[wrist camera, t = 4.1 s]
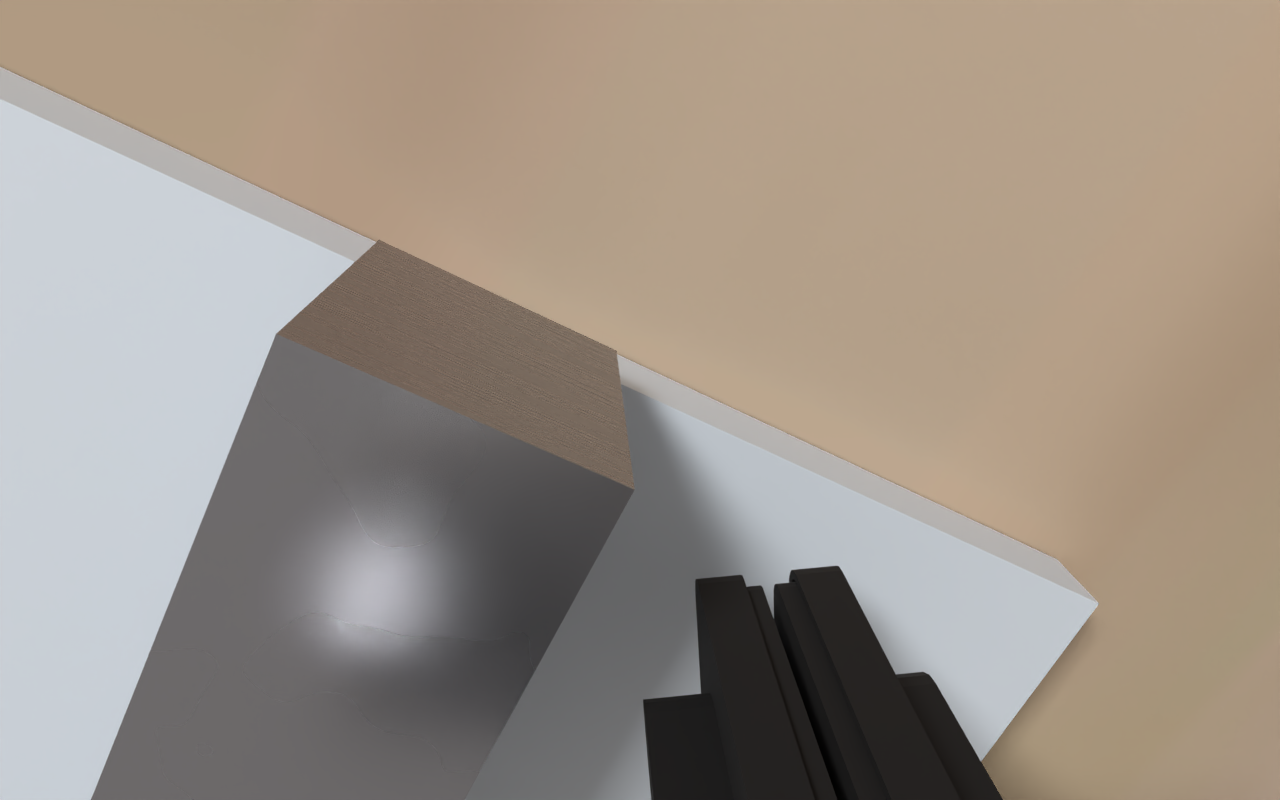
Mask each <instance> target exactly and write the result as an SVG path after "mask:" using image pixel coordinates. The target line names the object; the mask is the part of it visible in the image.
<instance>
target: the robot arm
mask: <svg viewBox="0 0 1280 800" xmlns="http://www.w3.org/2000/svg"><path fill="white" fill-rule="evenodd" d="M695 597H696V615H697V632H698V650H699V667H700V685H701V694H693V695H683V696H673V697H663V698H653V699H643V709H644V721H645V733H646V745H647V757H648V769H649V780H650V791H651V800H1003V799H1002V797H1001V796H1000V794H999V792H998V791H997V789H996V787H995V785H994V784H993V782H992V780H991V778H990V777H989V775H988V773H987V771H986V770H985V768H984V766H983V764H982V763H981V761H980V759H979V757H978V756H977V754H976V752H975V750H974V749H973V747H972V745H971V744H970V742H969V740H968V738H967V737H966V735H965V733H964V731H963V730H962V728H961V726H960V724H959V723H958V721H957V719H956V717H955V716H954V714H953V712H952V710H951V709H950V707H949V705H948V704H947V702H946V700H945V698H944V697H943V695H942V693H941V691H940V690H939V688H938V686H937V684H936V683H935V682H934V680H933V679H932V677H931V676H930V675H929V674H927V673H925V672H915V673H905V674H895V672H894V670H893V668H892V666H891V664H890V662H889V660H888V659H887V657H886V655H885V653H884V651H883V649H882V647H881V645H880V643H879V641H878V639H877V637H876V635H875V633H874V631H873V630H872V628H871V626H870V624H869V622H868V620H867V618H866V616H865V614H864V612H863V610H862V608H861V606H860V604H859V603H858V601H857V599H856V597H855V595H854V593H853V591H852V589H851V587H850V585H849V583H848V581H847V579H846V577H845V575H844V574H843V572H842V570H841V569H840V567H839V566H827V567H817V568H806V569H796V570H791V572H790V575H789V583H779V584H775V585H774V618H773V615H772V612H771V610H770V607H769V604H768V601H767V598H766V595H765V593H764V590H763V587H762V586H761V585H758V586H748V587H746V584H745V581H744V578H743V576H742V575H732V576H722V577H711V578H700V579H696V580H695Z"/></svg>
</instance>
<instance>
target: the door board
mask: <svg viewBox="0 0 1280 800" xmlns="http://www.w3.org/2000/svg"><path fill="white" fill-rule="evenodd" d="M375 243H376V242H375V241H373V240H371V239H369V238H366V237H364V236H362V235H360V234H358V233H356V232H354V231H351V230H349V229H347V228H345V227H343V226H341V225H339V224H336V223H334V222H332V221H330V220H328V219H326V218H324V217H321V216H319V215H317V214H315V213H313V212H311V211H309V210H306V209H304V208H302V207H300V206H298V205H296V204H293V203H291V202H289V201H287V200H285V199H283V198H281V197H278V196H276V195H274V194H272V193H270V192H268V191H266V190H263V189H261V188H259V187H257V186H255V185H253V184H251V183H248V182H246V181H244V180H242V179H240V178H238V177H236V176H233V175H231V174H229V173H227V172H225V171H223V170H221V169H218V168H216V167H214V166H212V165H210V164H208V163H206V162H203V161H201V160H199V159H197V158H195V157H193V156H191V155H188V154H186V153H184V152H182V151H180V150H178V149H175V148H173V147H171V146H169V145H167V144H165V143H163V142H160V141H158V140H156V139H154V138H152V137H150V136H148V135H145V134H143V133H141V132H139V131H137V130H135V129H133V128H130V127H128V126H126V125H124V124H122V123H120V122H118V121H115V120H113V119H111V118H109V117H107V116H105V115H103V114H100V113H98V112H96V111H94V110H92V109H90V108H88V107H85V106H83V105H81V104H79V103H77V102H75V101H72V100H70V99H68V98H66V97H64V96H62V95H60V94H57V93H55V92H53V91H51V90H49V89H47V88H45V87H42V86H40V85H38V84H36V83H34V82H32V81H30V80H27V79H25V78H23V77H21V76H19V75H17V74H15V73H12V72H10V71H8V70H6V69H4V68H2V67H0V800H91V798H92V796H93V793H94V791H95V788H96V786H97V783H98V781H99V778H100V776H101V773H102V771H103V768H104V766H105V763H106V761H107V758H108V756H109V753H110V751H111V748H112V745H113V743H114V740H115V738H116V735H117V733H118V730H119V728H120V725H121V723H122V720H123V718H124V715H125V713H126V710H127V708H128V705H129V703H130V700H131V698H132V695H133V693H134V690H135V688H136V685H137V683H138V680H139V678H140V675H141V672H142V670H143V667H144V665H145V662H146V660H147V657H148V655H149V652H150V650H151V647H152V645H153V642H154V640H155V637H156V635H157V632H158V630H159V627H160V625H161V622H162V620H163V617H164V615H165V612H166V610H167V607H168V605H169V602H170V599H171V597H172V594H173V592H174V589H175V587H176V584H177V582H178V579H179V577H180V574H181V572H182V569H183V567H184V564H185V562H186V559H187V557H188V554H189V552H190V549H191V547H192V544H193V542H194V539H195V537H196V534H197V532H198V529H199V526H200V524H201V521H202V519H203V516H204V514H205V511H206V509H207V506H208V504H209V501H210V499H211V496H212V494H213V491H214V489H215V486H216V484H217V481H218V479H219V476H220V474H221V471H222V469H223V466H224V464H225V461H226V459H227V456H228V453H229V451H230V448H231V446H232V443H233V441H234V438H235V436H236V433H237V431H238V428H239V426H240V423H241V421H242V418H243V416H244V413H245V411H246V408H247V406H248V403H249V401H250V398H251V396H252V393H253V391H254V388H255V386H256V383H257V380H258V378H259V375H260V373H261V370H262V368H263V365H264V363H265V360H266V358H267V355H268V353H269V350H270V348H271V345H272V343H273V340H274V338H275V335H276V333H277V332H279V331H280V330H281V329H282V328H283V327H284V326H285V325H286V324H287V323H288V322H290V321H291V320H292V319H293V318H294V317H295V316H296V315H297V314H298V313H299V312H300V311H302V310H303V309H304V308H305V307H306V306H307V305H308V304H309V303H310V302H311V301H313V300H314V299H315V298H316V297H317V296H318V295H319V294H320V293H321V292H322V291H324V290H325V289H326V288H327V287H328V286H329V285H330V284H331V283H332V282H333V281H335V280H336V279H337V278H338V277H339V276H340V275H341V274H342V273H343V272H344V271H345V270H347V269H348V268H349V267H350V266H351V265H352V264H353V263H354V262H355V261H356V260H358V259H359V258H360V257H361V256H362V255H363V254H364V253H365V252H366V251H367V250H369V249H370V248H371V247H372V246H373V245H374V244H375ZM617 359H618V366H619V374H620V382H621V389H622V397H623V404H624V412H625V420H626V427H627V435H628V443H629V450H630V458H631V466H632V473H633V481H634V488H635V490H634V492H633V494H632V495H631V497H630V499H629V501H628V503H627V505H626V506H625V508H624V510H623V512H622V514H621V515H620V517H619V519H618V521H617V523H616V525H615V526H614V528H613V530H612V532H611V534H610V535H609V537H608V539H607V541H606V543H605V545H604V546H603V548H602V550H601V552H600V554H599V556H598V557H597V559H596V561H595V563H594V565H593V566H592V568H591V570H590V572H589V574H588V576H587V577H586V579H585V581H584V583H583V585H582V586H581V588H580V590H579V592H578V594H577V596H576V597H575V599H574V601H573V603H572V605H571V607H570V608H569V610H568V612H567V614H566V616H565V617H564V619H563V621H562V623H561V625H560V627H559V628H558V630H557V632H556V634H555V636H554V638H553V639H552V641H551V643H550V645H549V647H548V648H547V650H546V652H545V654H544V656H543V658H542V659H541V661H540V663H539V665H538V667H537V668H536V670H535V672H534V674H533V676H532V678H531V679H530V681H529V683H528V685H527V687H526V689H525V690H524V692H523V694H522V696H521V698H520V699H519V701H518V703H517V705H516V707H515V709H514V710H513V712H512V714H511V716H510V718H509V719H508V721H507V723H506V725H505V727H504V729H503V730H502V732H501V734H500V736H499V738H498V740H497V741H496V743H495V745H494V747H493V749H492V750H491V752H490V754H489V756H488V758H487V760H486V761H485V763H484V765H483V767H482V769H481V770H480V772H479V774H478V776H477V778H476V780H475V781H474V783H473V785H472V787H471V789H470V791H469V792H468V794H467V796H466V798H465V800H651V791H650V780H649V769H648V757H647V745H646V733H645V721H644V709H643V699H653V698H663V697H673V696H683V695H693V694H701V685H700V667H699V650H698V632H697V615H696V597H695V580H696V579H700V578H711V577H722V576H732V575H742V576H743V578H744V581H745V584H746V587H748V586H758V585H761V586H762V587H763V590H764V593H765V595H766V598H767V601H768V604H769V607H770V610H771V612H772V615H773V618H774V585H775V584H779V583H789V575H790V572H791V570H796V569H806V568H817V567H827V566H839V567H840V569H841V570H842V572H843V574H844V575H845V577H846V579H847V581H848V583H849V585H850V587H851V589H852V591H853V593H854V595H855V597H856V599H857V601H858V603H859V604H860V606H861V608H862V610H863V612H864V614H865V616H866V618H867V620H868V622H869V624H870V626H871V628H872V630H873V631H874V633H875V635H876V637H877V639H878V641H879V643H880V645H881V647H882V649H883V651H884V653H885V655H886V657H887V659H888V660H889V662H890V664H891V666H892V668H893V670H894V672H895V674H905V673H915V672H925V673H927V674H929V675H930V676H931V677H932V679H933V680H934V682H935V683H936V684H937V686H938V688H939V690H940V691H941V693H942V695H943V697H944V698H945V700H946V702H947V704H948V705H949V707H950V709H951V710H952V712H953V714H954V716H955V717H956V719H957V721H958V723H959V724H960V726H961V728H962V730H963V731H964V733H965V735H966V737H967V738H968V740H969V742H970V744H971V745H972V747H973V749H974V750H975V752H976V754H977V756H978V757H979V759H980V761H982V760H983V758H984V757H985V756H986V754H987V753H988V752H989V750H990V749H991V748H992V746H993V745H994V744H995V742H996V741H997V740H998V738H999V737H1000V735H1001V734H1002V733H1003V731H1004V730H1005V729H1006V727H1007V726H1008V725H1009V723H1010V722H1011V721H1012V719H1013V718H1014V717H1015V715H1016V714H1017V713H1018V711H1019V710H1020V709H1021V707H1022V706H1023V705H1024V703H1025V702H1026V701H1027V699H1028V698H1029V697H1030V695H1031V694H1032V693H1033V691H1034V690H1035V689H1036V687H1037V686H1038V685H1039V683H1040V682H1041V681H1042V679H1043V678H1044V677H1045V675H1046V674H1047V673H1048V671H1049V670H1050V669H1051V667H1052V666H1053V665H1054V663H1055V662H1056V661H1057V659H1058V658H1059V657H1060V655H1061V654H1062V653H1063V651H1064V650H1065V649H1066V647H1067V646H1068V644H1069V643H1070V642H1071V640H1072V639H1073V638H1074V636H1075V635H1076V634H1077V632H1078V631H1079V630H1080V628H1081V627H1082V626H1083V624H1084V623H1085V622H1086V620H1087V619H1088V618H1089V616H1090V615H1091V614H1092V612H1093V611H1094V610H1095V608H1096V607H1097V606H1098V604H1099V603H1098V602H1097V601H1096V600H1095V599H1094V598H1093V597H1092V596H1091V594H1090V593H1089V592H1088V591H1087V590H1086V589H1085V588H1084V587H1083V586H1082V585H1081V584H1080V583H1079V582H1078V581H1077V580H1076V579H1075V578H1074V577H1073V576H1072V575H1071V574H1070V572H1069V571H1068V570H1067V569H1066V568H1065V567H1064V566H1063V565H1062V564H1061V563H1060V562H1059V561H1058V560H1057V559H1055V558H1053V557H1051V556H1049V555H1047V554H1044V553H1042V552H1040V551H1038V550H1036V549H1034V548H1032V547H1029V546H1027V545H1025V544H1023V543H1021V542H1019V541H1017V540H1014V539H1012V538H1010V537H1008V536H1006V535H1004V534H1002V533H999V532H997V531H995V530H993V529H991V528H989V527H986V526H984V525H982V524H980V523H978V522H976V521H974V520H971V519H969V518H967V517H965V516H963V515H961V514H959V513H956V512H954V511H952V510H950V509H948V508H946V507H944V506H941V505H939V504H937V503H935V502H933V501H931V500H929V499H926V498H924V497H922V496H920V495H918V494H916V493H914V492H911V491H909V490H907V489H905V488H903V487H901V486H899V485H896V484H894V483H892V482H890V481H888V480H886V479H884V478H881V477H879V476H877V475H875V474H873V473H871V472H868V471H866V470H864V469H862V468H860V467H858V466H856V465H853V464H851V463H849V462H847V461H845V460H843V459H841V458H838V457H836V456H834V455H832V454H830V453H828V452H826V451H823V450H821V449H819V448H817V447H815V446H813V445H811V444H808V443H806V442H804V441H802V440H800V439H798V438H796V437H793V436H791V435H789V434H787V433H785V432H783V431H781V430H778V429H776V428H774V427H772V426H770V425H768V424H766V423H763V422H761V421H759V420H757V419H755V418H753V417H750V416H748V415H746V414H744V413H742V412H740V411H738V410H735V409H733V408H731V407H729V406H727V405H725V404H723V403H720V402H718V401H716V400H714V399H712V398H710V397H708V396H705V395H703V394H701V393H699V392H697V391H695V390H693V389H690V388H688V387H686V386H684V385H682V384H680V383H678V382H675V381H673V380H671V379H669V378H667V377H665V376H663V375H660V374H658V373H656V372H654V371H652V370H650V369H648V368H645V367H643V366H641V365H639V364H637V363H635V362H632V361H630V360H628V359H626V358H624V357H622V356H620V355H617Z"/></svg>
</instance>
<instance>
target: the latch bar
mask: <svg viewBox="0 0 1280 800" xmlns="http://www.w3.org/2000/svg"><path fill="white" fill-rule="evenodd" d="M634 490H635V488H634V481H633V473H632V466H631V458H630V450H629V443H628V435H627V427H626V420H625V412H624V404H623V397H622V389H621V382H620V374H619V366H618V359H617V351H616V350H614V349H611V348H609V347H607V346H605V345H603V344H601V343H599V342H596V341H594V340H592V339H590V338H588V337H586V336H584V335H581V334H579V333H577V332H575V331H573V330H571V329H569V328H566V327H564V326H562V325H560V324H558V323H556V322H554V321H551V320H549V319H547V318H545V317H543V316H541V315H539V314H536V313H534V312H532V311H530V310H528V309H526V308H524V307H521V306H519V305H517V304H515V303H513V302H511V301H509V300H506V299H504V298H502V297H500V296H498V295H496V294H494V293H491V292H489V291H487V290H485V289H483V288H481V287H479V286H476V285H474V284H472V283H470V282H468V281H466V280H464V279H461V278H459V277H457V276H455V275H453V274H451V273H449V272H446V271H444V270H442V269H440V268H438V267H436V266H434V265H431V264H429V263H427V262H425V261H423V260H421V259H419V258H416V257H414V256H412V255H410V254H408V253H406V252H404V251H401V250H399V249H397V248H395V247H393V246H391V245H389V244H386V243H384V242H382V241H380V240H378V241H377V242H376V243H375V244H374V245H373V246H372V247H371V248H370V249H369V250H367V251H366V252H365V253H364V254H363V255H362V256H361V257H360V258H359V259H358V260H356V261H355V262H354V263H353V264H352V265H351V266H350V267H349V268H348V269H347V270H345V271H344V272H343V273H342V274H341V275H340V276H339V277H338V278H337V279H336V280H335V281H333V282H332V283H331V284H330V285H329V286H328V287H327V288H326V289H325V290H324V291H322V292H321V293H320V294H319V295H318V296H317V297H316V298H315V299H314V300H313V301H311V302H310V303H309V304H308V305H307V306H306V307H305V308H304V309H303V310H302V311H300V312H299V313H298V314H297V315H296V316H295V317H294V318H293V319H292V320H291V321H290V322H288V323H287V324H286V325H285V326H284V327H283V328H282V329H281V330H280V331H279V332H277V333H276V335H275V338H274V340H273V343H272V345H271V348H270V350H269V353H268V355H267V358H266V360H265V363H264V365H263V368H262V370H261V373H260V375H259V378H258V380H257V383H256V386H255V388H254V391H253V393H252V396H251V398H250V401H249V403H248V406H247V408H246V411H245V413H244V416H243V418H242V421H241V423H240V426H239V428H238V431H237V433H236V436H235V438H234V441H233V443H232V446H231V448H230V451H229V453H228V456H227V459H226V461H225V464H224V466H223V469H222V471H221V474H220V476H219V479H218V481H217V484H216V486H215V489H214V491H213V494H212V496H211V499H210V501H209V504H208V506H207V509H206V511H205V514H204V516H203V519H202V521H201V524H200V526H199V529H198V532H197V534H196V537H195V539H194V542H193V544H192V547H191V549H190V552H189V554H188V557H187V559H186V562H185V564H184V567H183V569H182V572H181V574H180V577H179V579H178V582H177V584H176V587H175V589H174V592H173V594H172V597H171V599H170V602H169V605H168V607H167V610H166V612H165V615H164V617H163V620H162V622H161V625H160V627H159V630H158V632H157V635H156V637H155V640H154V642H153V645H152V647H151V650H150V652H149V655H148V657H147V660H146V662H145V665H144V667H143V670H142V672H141V675H140V678H139V680H138V683H137V685H136V688H135V690H134V693H133V695H132V698H131V700H130V703H129V705H128V708H127V710H126V713H125V715H124V718H123V720H122V723H121V725H120V728H119V730H118V733H117V735H116V738H115V740H114V743H113V745H112V748H111V751H110V753H109V756H108V758H107V761H106V763H105V766H104V768H103V771H102V773H101V776H100V778H99V781H98V783H97V786H96V788H95V791H94V793H93V796H92V798H91V800H465V798H466V796H467V794H468V792H469V791H470V789H471V787H472V785H473V783H474V781H475V780H476V778H477V776H478V774H479V772H480V770H481V769H482V767H483V765H484V763H485V761H486V760H487V758H488V756H489V754H490V752H491V750H492V749H493V747H494V745H495V743H496V741H497V740H498V738H499V736H500V734H501V732H502V730H503V729H504V727H505V725H506V723H507V721H508V719H509V718H510V716H511V714H512V712H513V710H514V709H515V707H516V705H517V703H518V701H519V699H520V698H521V696H522V694H523V692H524V690H525V689H526V687H527V685H528V683H529V681H530V679H531V678H532V676H533V674H534V672H535V670H536V668H537V667H538V665H539V663H540V661H541V659H542V658H543V656H544V654H545V652H546V650H547V648H548V647H549V645H550V643H551V641H552V639H553V638H554V636H555V634H556V632H557V630H558V628H559V627H560V625H561V623H562V621H563V619H564V617H565V616H566V614H567V612H568V610H569V608H570V607H571V605H572V603H573V601H574V599H575V597H576V596H577V594H578V592H579V590H580V588H581V586H582V585H583V583H584V581H585V579H586V577H587V576H588V574H589V572H590V570H591V568H592V566H593V565H594V563H595V561H596V559H597V557H598V556H599V554H600V552H601V550H602V548H603V546H604V545H605V543H606V541H607V539H608V537H609V535H610V534H611V532H612V530H613V528H614V526H615V525H616V523H617V521H618V519H619V517H620V515H621V514H622V512H623V510H624V508H625V506H626V505H627V503H628V501H629V499H630V497H631V495H632V494H633V492H634Z"/></svg>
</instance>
